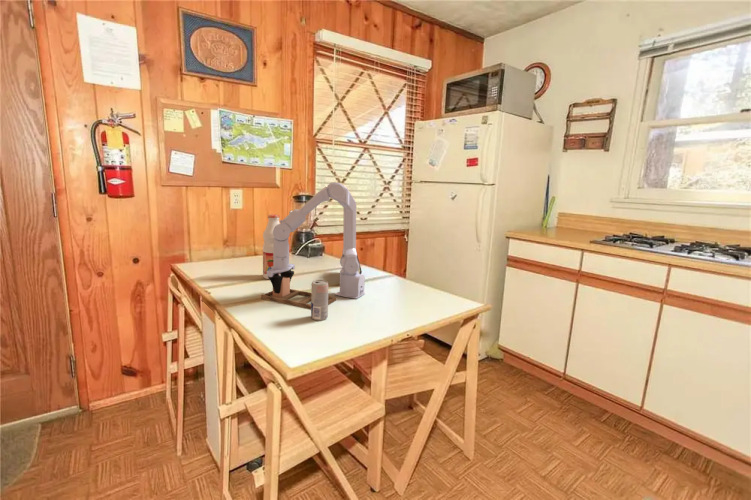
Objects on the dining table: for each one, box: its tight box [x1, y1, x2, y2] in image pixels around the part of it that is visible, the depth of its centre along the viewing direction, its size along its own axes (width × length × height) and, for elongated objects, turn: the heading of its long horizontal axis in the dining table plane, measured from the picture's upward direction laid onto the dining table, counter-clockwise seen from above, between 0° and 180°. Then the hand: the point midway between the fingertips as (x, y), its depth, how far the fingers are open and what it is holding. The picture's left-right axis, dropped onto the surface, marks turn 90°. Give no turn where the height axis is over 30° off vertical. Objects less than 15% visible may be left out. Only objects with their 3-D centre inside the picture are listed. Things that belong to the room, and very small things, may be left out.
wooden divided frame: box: [260, 288, 337, 309], centre depth 135 cm, size 25×12×1 cm, turn 67°
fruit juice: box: [262, 214, 281, 280], centre depth 161 cm, size 9×9×28 cm
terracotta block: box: [272, 277, 291, 298], centre depth 138 cm, size 4×4×7 cm
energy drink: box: [310, 279, 329, 322], centre depth 117 cm, size 5×5×12 cm
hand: (281, 291), depth 138 cm, fingers closed on terracotta block, 4 cm apart
